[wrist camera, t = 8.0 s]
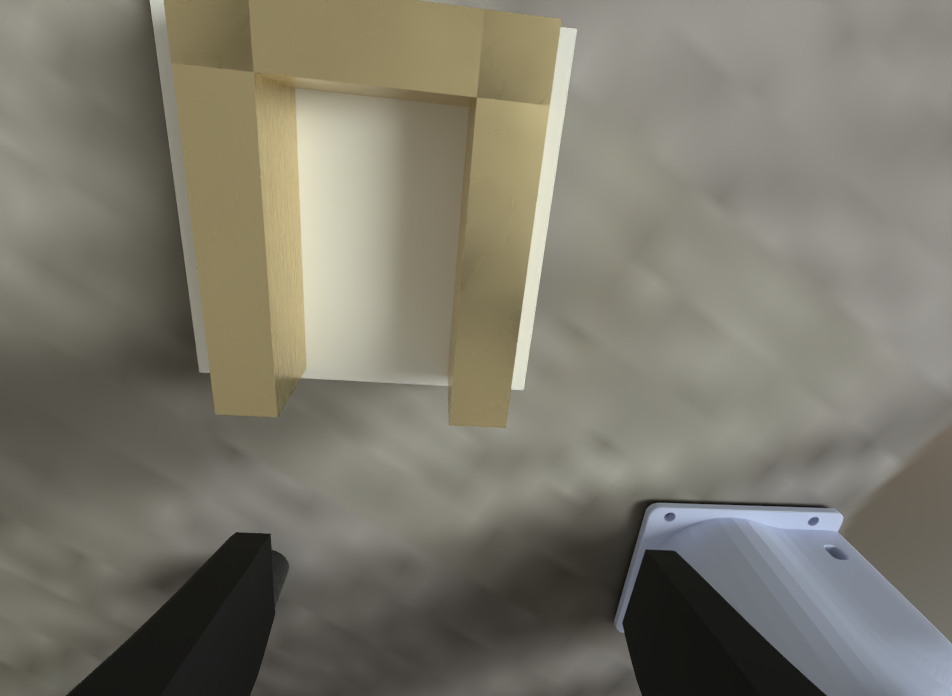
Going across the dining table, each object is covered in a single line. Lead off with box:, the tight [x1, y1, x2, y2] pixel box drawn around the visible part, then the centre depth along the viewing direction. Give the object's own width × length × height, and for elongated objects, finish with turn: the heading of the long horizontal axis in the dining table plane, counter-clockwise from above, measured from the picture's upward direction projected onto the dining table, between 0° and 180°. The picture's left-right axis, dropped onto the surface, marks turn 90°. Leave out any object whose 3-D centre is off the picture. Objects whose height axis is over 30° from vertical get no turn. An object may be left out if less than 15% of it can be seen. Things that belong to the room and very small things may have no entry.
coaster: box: [150, 0, 577, 390], centre depth 16 cm, size 12×12×1 cm
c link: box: [164, 0, 562, 428], centre depth 15 cm, size 9×11×4 cm
